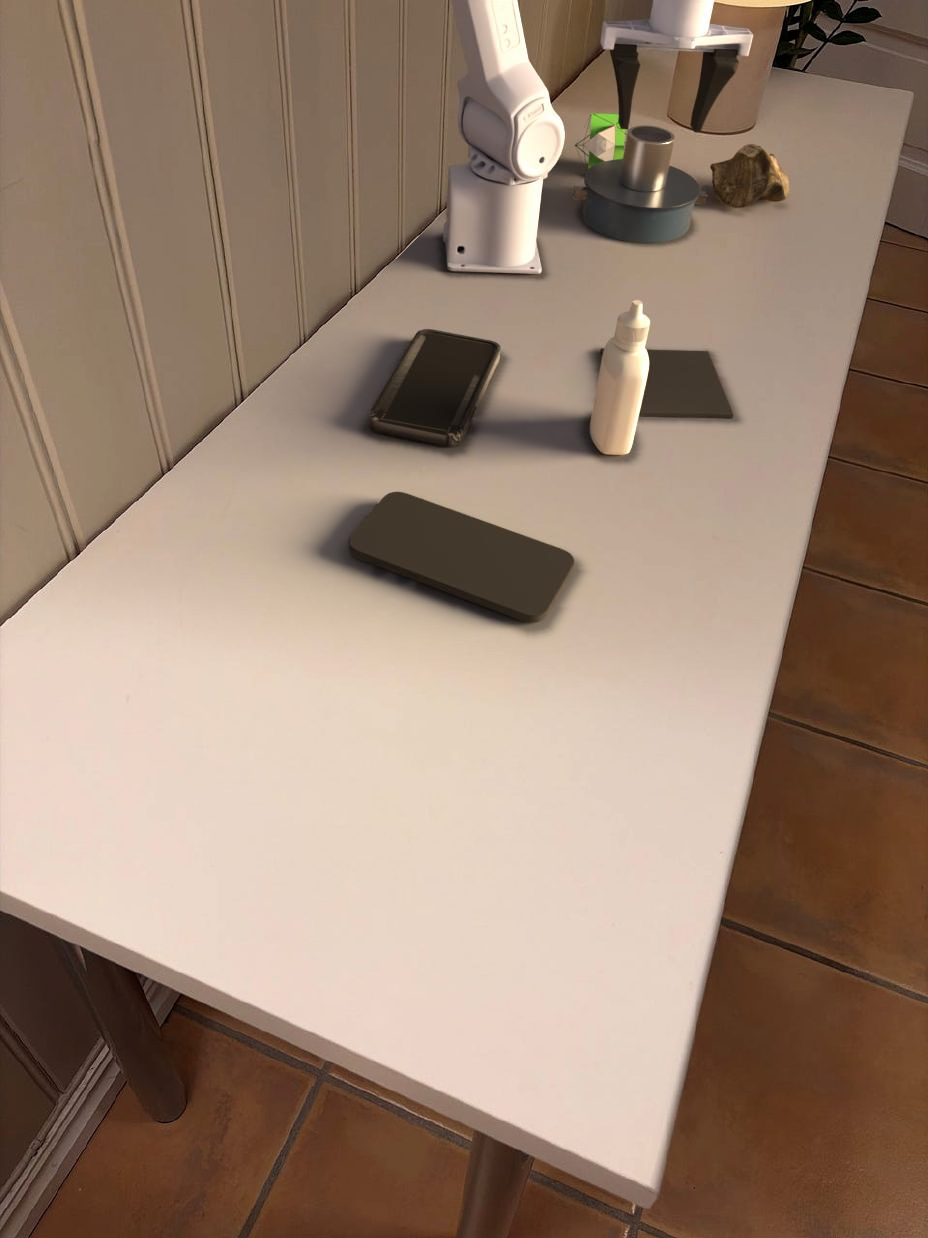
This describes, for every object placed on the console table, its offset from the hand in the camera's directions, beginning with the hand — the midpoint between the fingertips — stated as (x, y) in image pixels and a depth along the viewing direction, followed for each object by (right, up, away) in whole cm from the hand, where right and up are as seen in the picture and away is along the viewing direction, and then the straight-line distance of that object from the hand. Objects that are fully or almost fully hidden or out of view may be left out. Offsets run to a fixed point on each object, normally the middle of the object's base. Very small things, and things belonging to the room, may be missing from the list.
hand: (659, 127), depth 102 cm
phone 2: (-21, -47, -33) cm, 61 cm away
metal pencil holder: (-1, -4, +5) cm, 6 cm away
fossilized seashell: (+12, -2, +13) cm, 18 cm away
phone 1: (-23, -32, -18) cm, 43 cm away
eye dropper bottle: (-8, -36, -21) cm, 43 cm away
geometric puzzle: (-4, +2, +16) cm, 16 cm away
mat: (-3, -30, -15) cm, 34 cm away
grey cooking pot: (-1, -6, +7) cm, 10 cm away
